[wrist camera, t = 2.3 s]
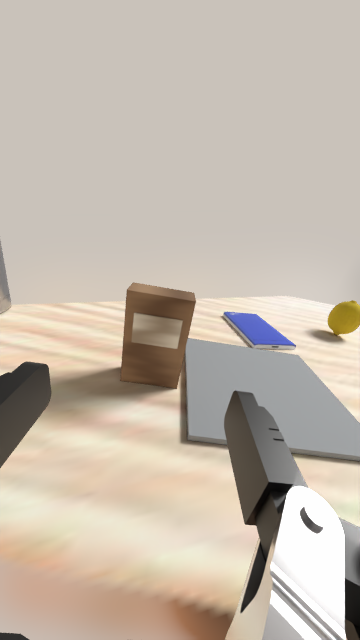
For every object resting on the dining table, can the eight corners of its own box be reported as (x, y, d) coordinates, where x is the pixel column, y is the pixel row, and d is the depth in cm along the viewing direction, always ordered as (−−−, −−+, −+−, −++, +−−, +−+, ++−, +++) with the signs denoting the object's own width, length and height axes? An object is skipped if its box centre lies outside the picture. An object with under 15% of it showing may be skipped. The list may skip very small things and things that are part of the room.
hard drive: (224, 311, 44) (255, 343, 33) (257, 314, 46) (297, 344, 35) (222, 318, 44) (252, 351, 34) (255, 320, 47) (293, 352, 36)
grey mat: (187, 440, 17) (188, 435, 17) (184, 341, 32) (185, 337, 31) (389, 464, 18) (392, 460, 18) (296, 358, 33) (298, 355, 33)
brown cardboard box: (120, 381, 22) (126, 290, 18) (126, 366, 24) (133, 282, 20) (176, 389, 22) (195, 301, 18) (177, 373, 24) (194, 292, 20)
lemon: (332, 328, 49) (350, 296, 46) (356, 341, 44) (377, 306, 41) (315, 328, 47) (332, 295, 44) (338, 341, 42) (359, 305, 39)
